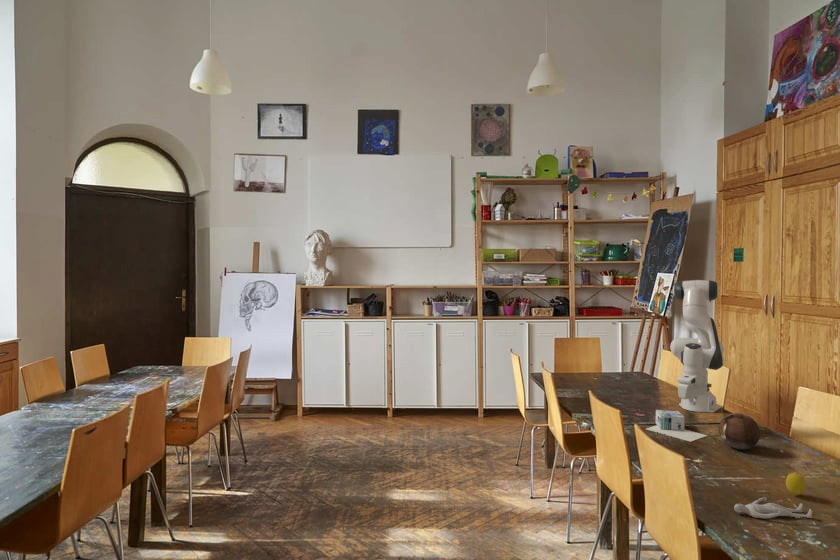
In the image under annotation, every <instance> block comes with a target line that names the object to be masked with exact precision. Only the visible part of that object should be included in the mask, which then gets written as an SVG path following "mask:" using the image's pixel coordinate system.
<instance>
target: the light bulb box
mask: <svg viewBox="0 0 840 560" xmlns="http://www.w3.org/2000/svg"><path fill="white" fill-rule="evenodd" d="M654 421H655V425H658V426H659V428H660V429H669V430H683V431H684V429H685V416H684V415H683V414H682V413H681V412H680V411H677V410H675V411H674V410H663V409H662V410H661V409H656V410H655V420H654Z"/></svg>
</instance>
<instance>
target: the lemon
mask: <svg viewBox="0 0 840 560" xmlns="http://www.w3.org/2000/svg"><path fill="white" fill-rule="evenodd" d="M785 487H786V489H787V490H788V492H789V493H791V494H792V495H793V496H795V497H796V496H800V495H803V494H804V493H805V491H806V487H807V484H806V481H805V479H804V477H803V476H802V475H801V474H799V473H798V472H791V473H789V474H788V475H787V476H786V479H785Z"/></svg>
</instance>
